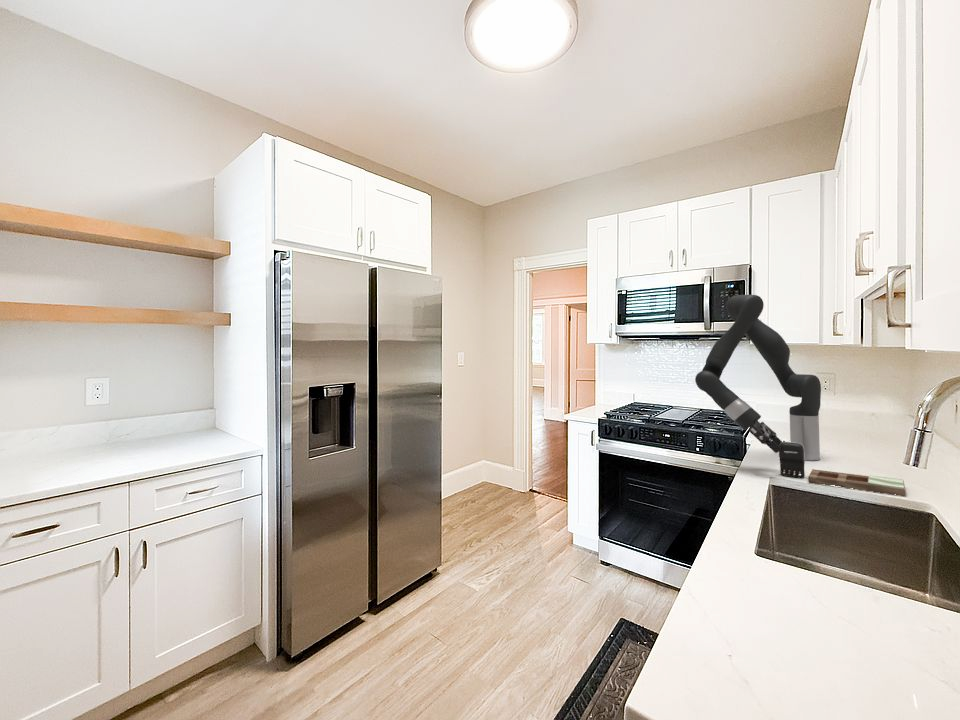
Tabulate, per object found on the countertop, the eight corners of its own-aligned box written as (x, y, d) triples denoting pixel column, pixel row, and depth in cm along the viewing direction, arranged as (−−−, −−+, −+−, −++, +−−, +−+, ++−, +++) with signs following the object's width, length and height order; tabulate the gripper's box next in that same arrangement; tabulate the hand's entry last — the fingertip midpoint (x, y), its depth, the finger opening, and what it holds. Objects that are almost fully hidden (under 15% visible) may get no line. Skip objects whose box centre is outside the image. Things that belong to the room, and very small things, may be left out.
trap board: (812, 475, 145) (812, 468, 145) (903, 486, 130) (903, 479, 130) (808, 482, 136) (808, 475, 136) (905, 496, 121) (905, 488, 121)
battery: (778, 476, 145) (777, 442, 145) (780, 473, 148) (779, 440, 148) (804, 479, 140) (803, 444, 140) (805, 477, 143) (804, 442, 143)
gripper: (745, 408, 147) (787, 445, 139) (754, 404, 157) (793, 439, 149) (728, 422, 151) (768, 459, 143) (738, 418, 161) (776, 452, 153)
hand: (781, 449), depth 146 cm, fingers open, 8 cm apart
